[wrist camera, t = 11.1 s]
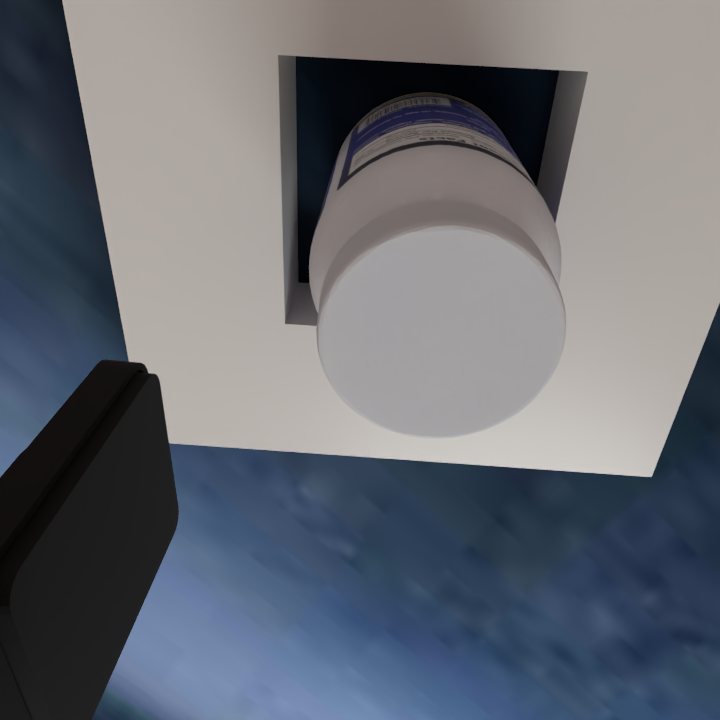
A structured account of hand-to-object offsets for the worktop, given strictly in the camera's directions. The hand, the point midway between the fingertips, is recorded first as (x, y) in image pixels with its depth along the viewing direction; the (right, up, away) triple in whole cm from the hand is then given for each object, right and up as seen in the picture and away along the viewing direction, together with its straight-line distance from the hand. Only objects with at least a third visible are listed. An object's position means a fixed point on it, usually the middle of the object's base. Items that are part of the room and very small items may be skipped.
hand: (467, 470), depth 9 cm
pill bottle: (0, +7, +11) cm, 13 cm away
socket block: (0, +7, +11) cm, 13 cm away
